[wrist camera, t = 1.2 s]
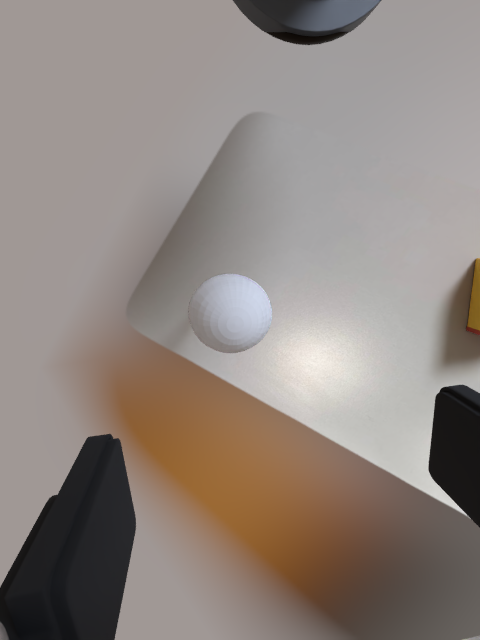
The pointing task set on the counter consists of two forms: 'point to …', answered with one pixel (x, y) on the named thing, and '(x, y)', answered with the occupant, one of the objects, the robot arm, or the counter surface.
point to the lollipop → (230, 313)
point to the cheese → (475, 302)
